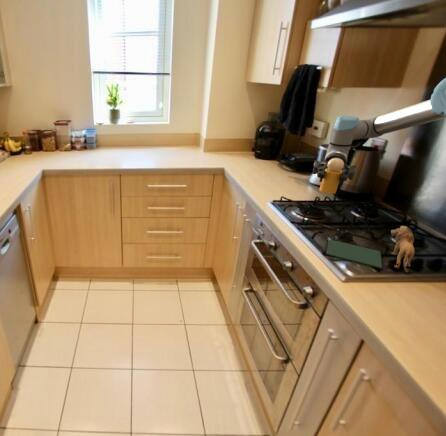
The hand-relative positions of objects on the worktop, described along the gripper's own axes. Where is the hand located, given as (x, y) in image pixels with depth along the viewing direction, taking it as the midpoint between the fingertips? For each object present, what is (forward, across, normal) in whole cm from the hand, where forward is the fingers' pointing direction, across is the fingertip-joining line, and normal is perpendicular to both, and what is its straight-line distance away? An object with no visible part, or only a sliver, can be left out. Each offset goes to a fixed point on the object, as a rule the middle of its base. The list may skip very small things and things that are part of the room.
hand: (331, 179), depth 108 cm
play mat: (+16, -11, -18) cm, 26 cm away
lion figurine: (+12, -22, -18) cm, 31 cm away
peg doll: (-5, 0, -6) cm, 8 cm away
